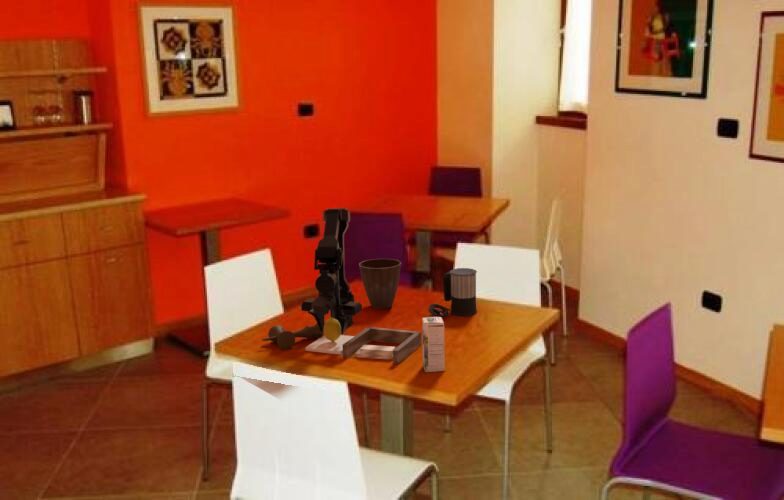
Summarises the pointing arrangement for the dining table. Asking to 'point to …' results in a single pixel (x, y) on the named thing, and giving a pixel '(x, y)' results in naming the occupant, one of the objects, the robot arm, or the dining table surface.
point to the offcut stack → (375, 352)
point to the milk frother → (458, 293)
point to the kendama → (291, 335)
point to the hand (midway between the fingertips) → (332, 333)
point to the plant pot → (380, 281)
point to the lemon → (332, 329)
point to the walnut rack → (404, 338)
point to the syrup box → (433, 344)
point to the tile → (329, 345)
